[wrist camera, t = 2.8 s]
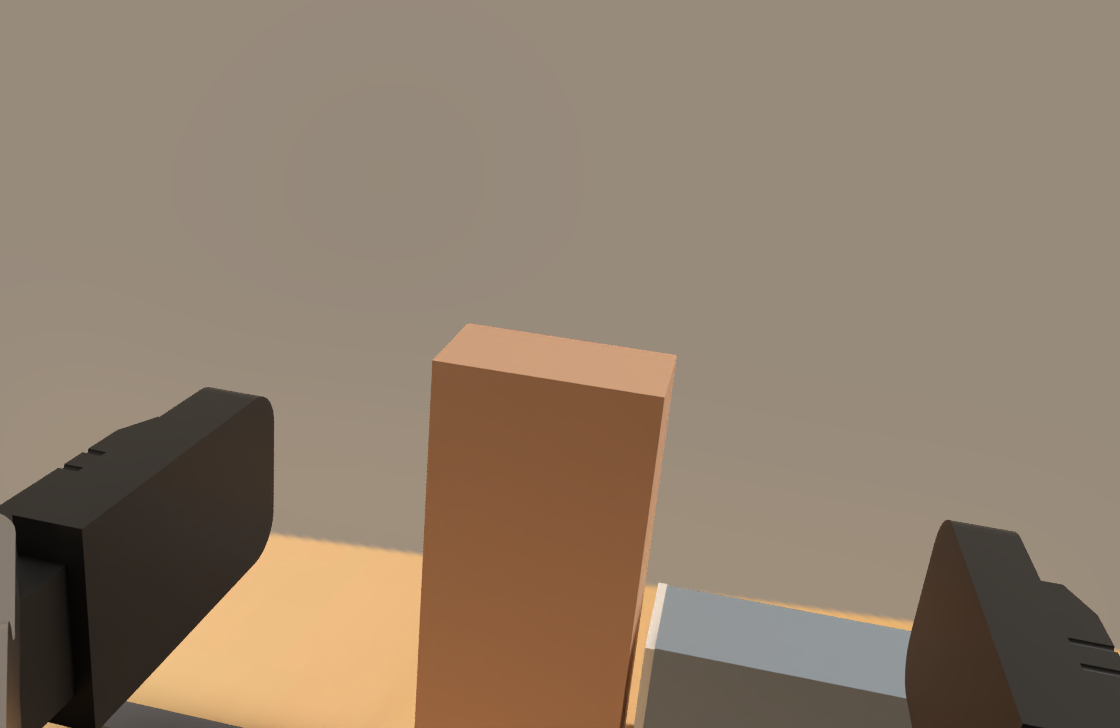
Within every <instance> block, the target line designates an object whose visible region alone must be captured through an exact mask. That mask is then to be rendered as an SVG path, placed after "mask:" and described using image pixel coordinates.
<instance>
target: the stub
mask: <svg viewBox="0 0 1120 728" xmlns="http://www.w3.org/2000/svg"><path fill="white" fill-rule="evenodd" d="M676 359H677V355H671V354H665V353H658V352H652V351H645V350H638V349H632V348H626V347H620V346H613V345H606V344H600V343H593V342H587V341H580V340H573V339H567V338H561V337H554V336H548V335H541V334H534V333H528V332H522V331H515V330H509V329H502V328H495V327H489V326H483V325H476V324H469V323H468V324H467V325H466V326H465V327H464V328H463V329H462V330H461V331H460V332H459V333H458V334H457V336H455V337H454V338H453V339H452V341H451V342H450V343H449V344H448V345H447V346H446V347H445V348H444V349H443V350H442V351H441V352H440V353H439V354H438V355H437V356H436V357H435V358H434V359H433V361H432V381H431V382H432V383H431V401H430V403H431V404H430V422H429V443H428V464H427V484H426V485H427V486H426V505H425V525H424V526H425V527H424V546H423V547H424V548H423V567H422V587H421V608H420V629H419V650H418V670H417V691H416V712H415V728H625V724H626V717H627V710H628V703H629V695H630V688H631V681H632V674H633V667H634V660H635V652H636V645H637V638H638V631H639V624H640V617H641V609H642V602H643V595H644V588H645V581H646V574H647V566H648V559H649V552H650V545H651V537H652V531H653V522H654V515H655V509H656V502H657V495H658V487H659V480H660V472H661V466H662V459H663V452H664V445H665V436H666V430H667V423H668V416H669V409H670V401H671V394H672V387H673V380H674V373H675V366H676Z"/></svg>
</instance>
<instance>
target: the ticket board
mask: <svg viewBox="0 0 1120 728" xmlns="http://www.w3.org/2000/svg"><path fill="white" fill-rule="evenodd" d="M910 635H911V631H907V630H901V629H896V628H891V627H885V626H880V625H875V624H870V623H864V622H859V621H854V620H848V619H843V618H838V617H833V616H827V615H822V614H817V613H811V612H806V611H801V610H796V609H790V608H785V607H780V606H774V605H769V604H764V603H759V602H753V601H748V600H743V599H737V598H732V597H727V596H722V595H716V594H711V593H706V592H700V591H695V590H690V589H685V588H679V587H674V586H669V585H667V584H663V583H659V584H658V589H657V593H656V598H655V603H654V608H653V613H652V617H651V622H650V627H649V632H648V636H647V641H646V646H645V652H644V659H643V666H642V673H641V680H640V687H639V694H638V701H637V708H636V715H635V722H634V728H912V724H911V719H910V714H909V709H908V704H907V699H906V693H905V665H906V656H907V649H908V644H909V639H910ZM101 728H242V727H237V726H233V725H228V724H224V723H220V722H215V721H211V720H206V719H202V718H198V717H193V716H189V715H184V714H180V713H175V712H171V711H167V710H162V709H158V708H153V707H149V706H144V705H140V704H136V703H131V702H127V701H126V702H125V703H124V704H123V705H122V706H121V707H120V708H119V709H118V710H117V711H116V712H115V713H114V714H113V715H112V717H111V718H110V719H109V720H108V721H107V722H106V723H105V724H104V725H103V726H102V727H101Z"/></svg>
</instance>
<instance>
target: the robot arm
mask: <svg viewBox="0 0 1120 728" xmlns="http://www.w3.org/2000/svg"><path fill="white" fill-rule="evenodd" d="M273 491H274V415H273V409H272V406H271V403H270V402H269V400H268V399H267V398H265V397H261V396H255V395H250V394H243V393H238V392H233V391H227V390H222V389H216V388H210V387H206V388H203V389H201V390H200V391H198V392H197V393H195V394H194V395H192V396H191V397H189V398H188V399H186V400H185V401H183V402H181V403H180V404H178V405H177V406H176V407H174V408H173V409H171V410H169V411H168V412H166V413H165V414H164V415H162V416H160V417H156V418H153V419H150V420H147V421H144V422H141V423H138V424H135V425H132V426H129V427H126V428H122V429H119V430H117V431H116V432H114V433H112V434H111V435H109V436H108V437H106V438H104V439H103V440H101V441H100V442H98V443H97V444H95V445H94V446H92V447H90V448H89V449H88V453H81V454H79V455H78V456H76V457H75V458H73V459H72V460H70V461H68V462H67V463H65V465H64V468H63V469H61V468H57V469H56V470H54V471H53V472H51V473H50V474H48V475H47V476H45V477H43V478H42V479H40V480H39V481H37V482H36V483H34V484H32V485H31V486H29V487H28V488H26V489H25V490H23V491H22V492H20V493H18V494H17V495H15V496H14V497H12V498H11V499H9V500H7V501H6V502H4V503H3V504H1V505H0V728H42V727H43V726H44V725H46V724H47V723H48V722H50V723H54V724H58V725H63V726H67V727H71V728H101V727H102V726H103V725H104V724H105V723H106V722H107V721H108V720H109V719H110V718H111V717H112V715H113V714H114V713H115V712H116V711H117V710H118V709H119V708H120V707H121V706H122V705H123V704H124V703H125V702H126V701H127V699H128V698H129V697H130V696H131V695H132V694H133V693H134V692H135V691H136V690H137V689H138V688H139V687H140V686H141V684H142V683H143V682H144V681H145V680H146V679H147V678H148V677H149V676H150V675H151V674H152V673H153V672H154V671H155V670H156V668H157V667H158V666H159V665H160V664H161V663H162V662H163V661H164V660H165V659H166V658H167V657H168V656H169V655H170V653H171V652H172V651H173V650H174V649H175V648H176V647H177V646H178V645H179V644H180V643H181V642H182V641H183V640H184V639H185V637H186V636H187V635H188V634H189V633H190V632H191V631H192V630H193V629H194V628H195V627H196V626H197V625H198V624H199V623H200V621H201V620H202V619H203V618H204V617H205V616H206V615H207V614H208V613H209V612H210V611H211V610H212V609H213V608H214V606H215V605H216V604H217V603H218V602H219V601H220V600H221V599H222V598H223V597H224V596H225V595H226V594H227V593H228V592H229V590H230V589H231V588H232V587H233V586H234V585H235V584H236V583H237V582H238V581H239V580H240V579H241V578H242V577H243V575H244V574H245V573H246V572H247V571H248V570H249V569H250V568H251V567H252V566H253V565H254V564H255V563H256V561H257V560H258V559H259V557H260V556H261V554H262V552H263V550H264V548H265V546H266V543H267V541H268V538H269V534H270V531H271V526H272V521H273V497H274V496H273V495H274V493H273ZM905 693H906V699H907V704H908V709H909V714H910V719H911V724H912V728H1120V656H1119V654H1118V653H1117V652H1114V645H1113V643H1112V641H1111V639H1110V638H1109V636H1108V634H1107V632H1106V630H1105V628H1104V626H1103V624H1102V623H1101V621H1100V619H1099V617H1098V615H1096V613H1094V612H1093V611H1092V610H1091V609H1090V608H1089V607H1087V606H1086V605H1085V604H1084V603H1083V602H1082V601H1081V600H1080V599H1078V598H1077V597H1076V596H1075V595H1074V594H1073V593H1071V592H1070V591H1069V590H1068V589H1067V588H1066V587H1065V586H1064V585H1061V584H1056V583H1050V582H1044V581H1041V580H1040V578H1039V576H1038V574H1037V572H1036V570H1035V568H1034V566H1033V563H1032V561H1031V559H1030V557H1029V555H1028V553H1027V551H1026V549H1025V547H1024V544H1023V542H1022V540H1021V538H1020V536H1019V535H1018V534H1017V533H1016V532H1013V531H1007V530H1002V529H996V528H990V527H984V526H979V525H973V524H968V523H962V522H957V521H951V520H946V521H944V522H943V524H942V526H941V527H940V529H939V531H938V534H937V537H936V540H935V543H934V547H933V551H932V555H931V558H930V563H929V566H928V570H927V574H926V577H925V581H924V585H923V589H922V593H921V597H920V601H919V604H918V608H917V612H916V616H915V619H914V623H913V627H912V631H911V635H910V639H909V644H908V649H907V656H906V665H905Z"/></svg>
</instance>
